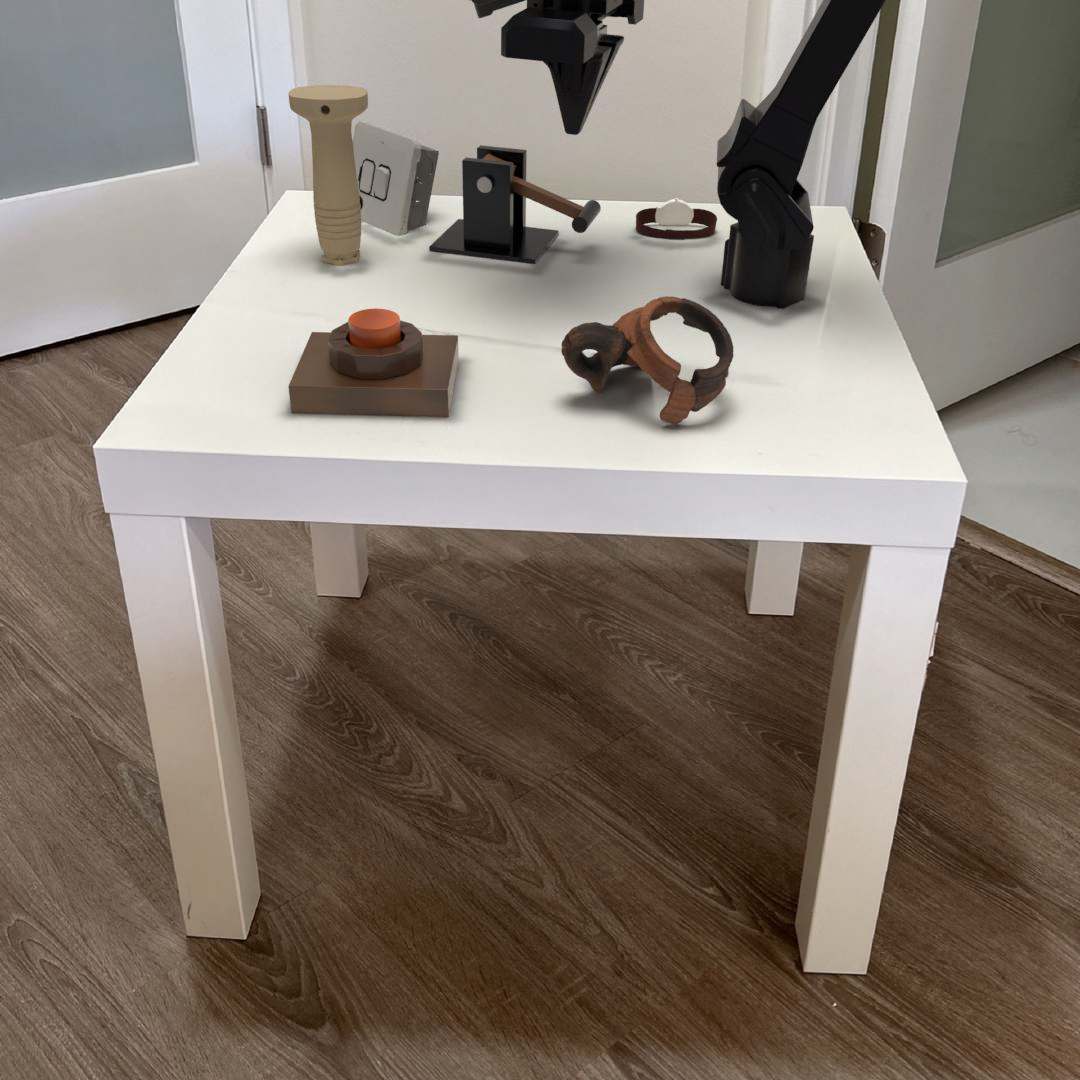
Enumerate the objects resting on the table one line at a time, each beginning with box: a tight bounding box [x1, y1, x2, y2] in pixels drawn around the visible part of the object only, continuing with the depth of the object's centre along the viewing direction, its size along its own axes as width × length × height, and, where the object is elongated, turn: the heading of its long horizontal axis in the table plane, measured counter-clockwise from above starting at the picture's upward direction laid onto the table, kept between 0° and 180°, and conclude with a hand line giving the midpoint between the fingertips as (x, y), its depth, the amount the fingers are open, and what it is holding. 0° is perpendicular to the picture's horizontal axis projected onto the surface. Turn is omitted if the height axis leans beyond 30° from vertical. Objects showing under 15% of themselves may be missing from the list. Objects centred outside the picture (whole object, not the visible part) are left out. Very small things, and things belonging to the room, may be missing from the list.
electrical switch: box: [352, 120, 440, 237], centre depth 112 cm, size 9×5×9 cm, turn 43°
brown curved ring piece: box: [561, 296, 734, 426], centre depth 84 cm, size 12×10×8 cm
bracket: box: [428, 144, 560, 265], centre depth 107 cm, size 10×8×9 cm
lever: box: [483, 154, 602, 234], centre depth 105 cm, size 11×5×2 cm, turn 73°
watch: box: [635, 197, 718, 240], centre depth 112 cm, size 8×5×4 cm, turn 91°
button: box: [347, 308, 401, 349], centre depth 84 cm, size 4×4×2 cm
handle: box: [287, 84, 369, 267], centre depth 101 cm, size 5×6×15 cm
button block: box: [288, 319, 460, 418], centre depth 85 cm, size 11×9×4 cm
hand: (572, 133), depth 95 cm, fingers closed
